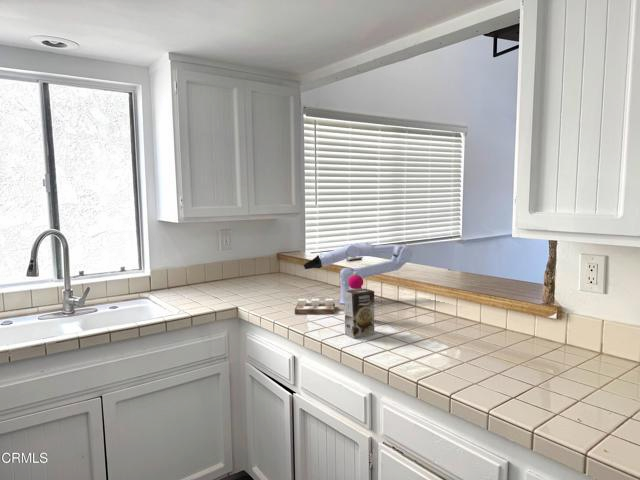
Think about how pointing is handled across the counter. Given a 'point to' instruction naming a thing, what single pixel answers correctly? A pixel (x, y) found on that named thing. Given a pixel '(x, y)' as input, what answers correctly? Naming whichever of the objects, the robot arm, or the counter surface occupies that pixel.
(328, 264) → the robot arm
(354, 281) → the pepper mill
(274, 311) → the counter surface
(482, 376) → the counter surface
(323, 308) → the button board
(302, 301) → the button
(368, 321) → the coffee box
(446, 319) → the counter surface
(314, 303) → the middle button
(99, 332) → the counter surface
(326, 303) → the button
